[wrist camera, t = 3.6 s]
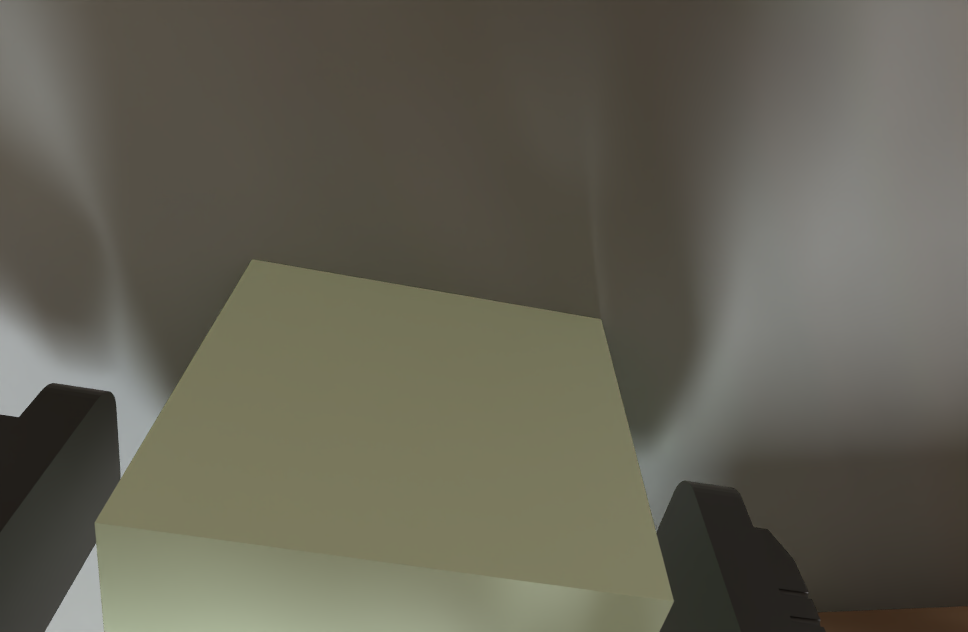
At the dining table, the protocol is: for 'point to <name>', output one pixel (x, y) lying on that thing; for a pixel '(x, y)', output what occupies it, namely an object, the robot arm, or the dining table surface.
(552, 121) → the dining table surface
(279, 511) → the sage cube
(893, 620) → the walnut cube
